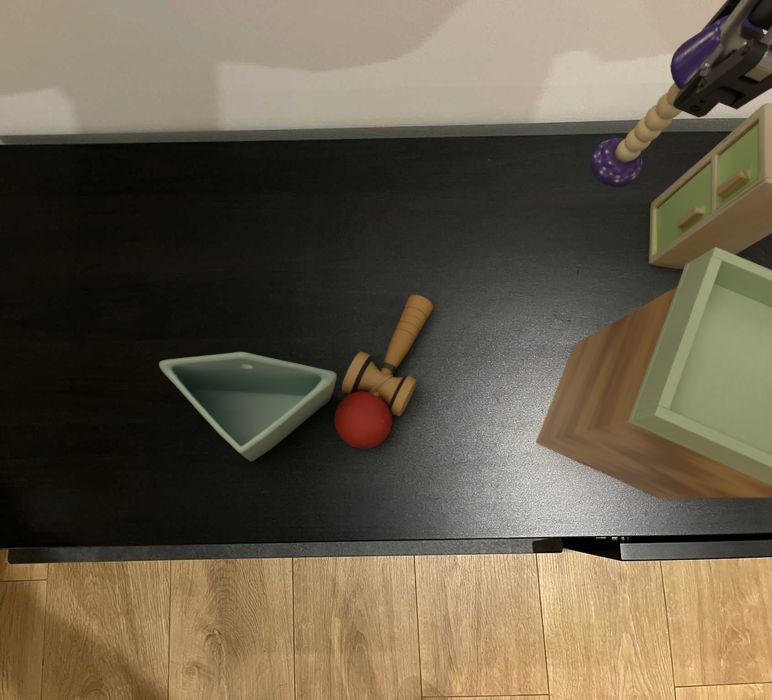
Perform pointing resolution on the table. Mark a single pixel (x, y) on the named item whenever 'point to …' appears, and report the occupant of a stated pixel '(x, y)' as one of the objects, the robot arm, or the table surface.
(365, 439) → the kendama
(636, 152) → the toy lamp
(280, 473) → the table surface
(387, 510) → the table surface
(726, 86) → the robot arm
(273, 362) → the planter
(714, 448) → the box
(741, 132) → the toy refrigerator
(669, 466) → the stand
